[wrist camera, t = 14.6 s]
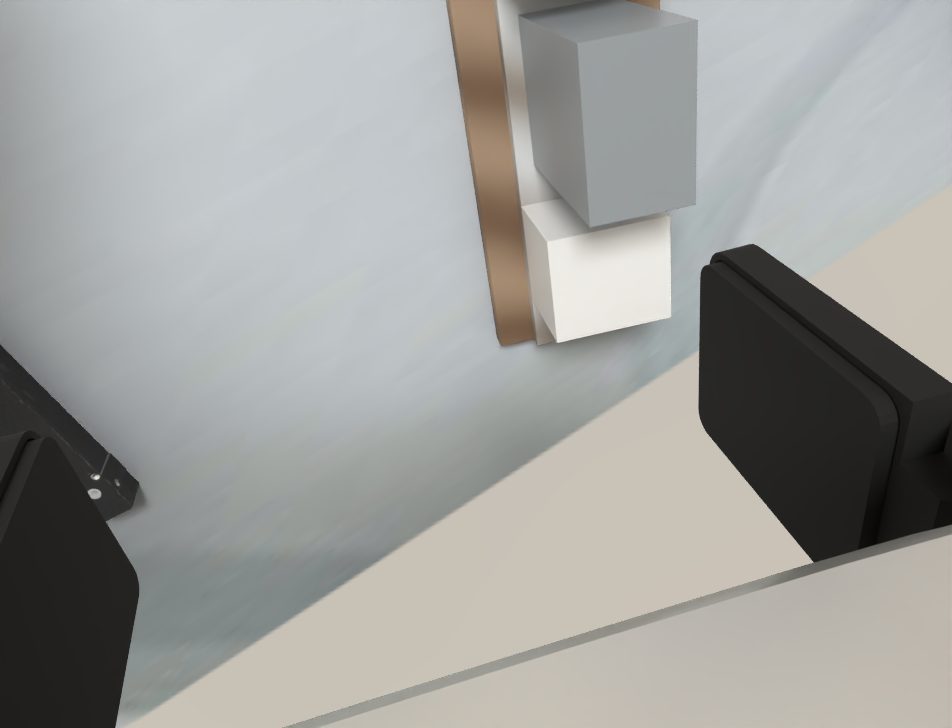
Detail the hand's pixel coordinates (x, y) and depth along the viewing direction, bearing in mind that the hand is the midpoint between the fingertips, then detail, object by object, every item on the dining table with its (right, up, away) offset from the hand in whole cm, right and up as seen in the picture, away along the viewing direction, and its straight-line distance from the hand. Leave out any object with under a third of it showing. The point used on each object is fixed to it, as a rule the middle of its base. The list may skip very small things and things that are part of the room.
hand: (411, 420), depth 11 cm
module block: (+5, +14, +25) cm, 30 cm away
